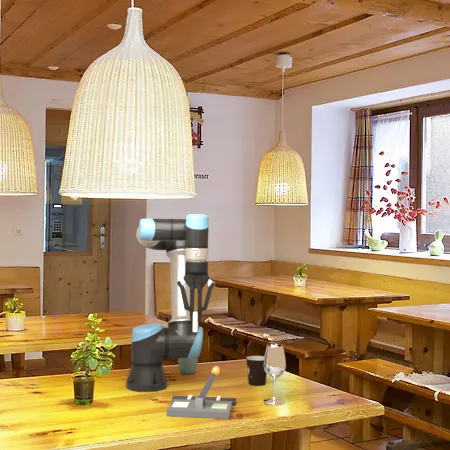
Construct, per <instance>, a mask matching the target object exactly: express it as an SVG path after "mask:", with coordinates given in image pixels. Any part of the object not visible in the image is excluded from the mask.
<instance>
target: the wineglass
mask: <svg viewBox="0 0 450 450" xmlns="http://www.w3.org/2000/svg"><path fill="white" fill-rule="evenodd" d="M286 363H287V362H286V355H285V348H284V345H283V344H280V343H269V344H267V345H266V349H265V353H264V371H265V372H266V374H267V375H268V376H269V377H270V378H272V385H273V387H272V397H271V398H265V399H263V400H262V401H263V403H264V404H267V405H271V406H277V405H283V404H285V403H286V402H285V400H284V399H281V398H277V397H276V382H277V378H279V377H281V376H282V375H283V374H284V373H285V371H286V368H287V364H286Z"/></svg>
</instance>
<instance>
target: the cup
mask: <svg viewBox="0 0 450 450" xmlns="http://www.w3.org/2000/svg"><path fill="white" fill-rule="evenodd" d="M198 357H199V356H198ZM198 357H196V358H188V359H186V358H179V359H177V362H178V363H177V364H178V370H179V371H180V373H181V374H183V375H193V374H194V373H195V372H196V370H197V367H198Z"/></svg>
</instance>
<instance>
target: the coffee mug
mask: <svg viewBox="0 0 450 450" xmlns="http://www.w3.org/2000/svg"><path fill="white" fill-rule="evenodd" d="M264 357H265V355H263V356H262V355H251V356H246V359H245V360H246V370H247V378H248V385H249V384H250V386H252V385H253V386H254V387H263V386H265V385H266V382H267V374H266V372H265V371H264Z"/></svg>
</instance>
